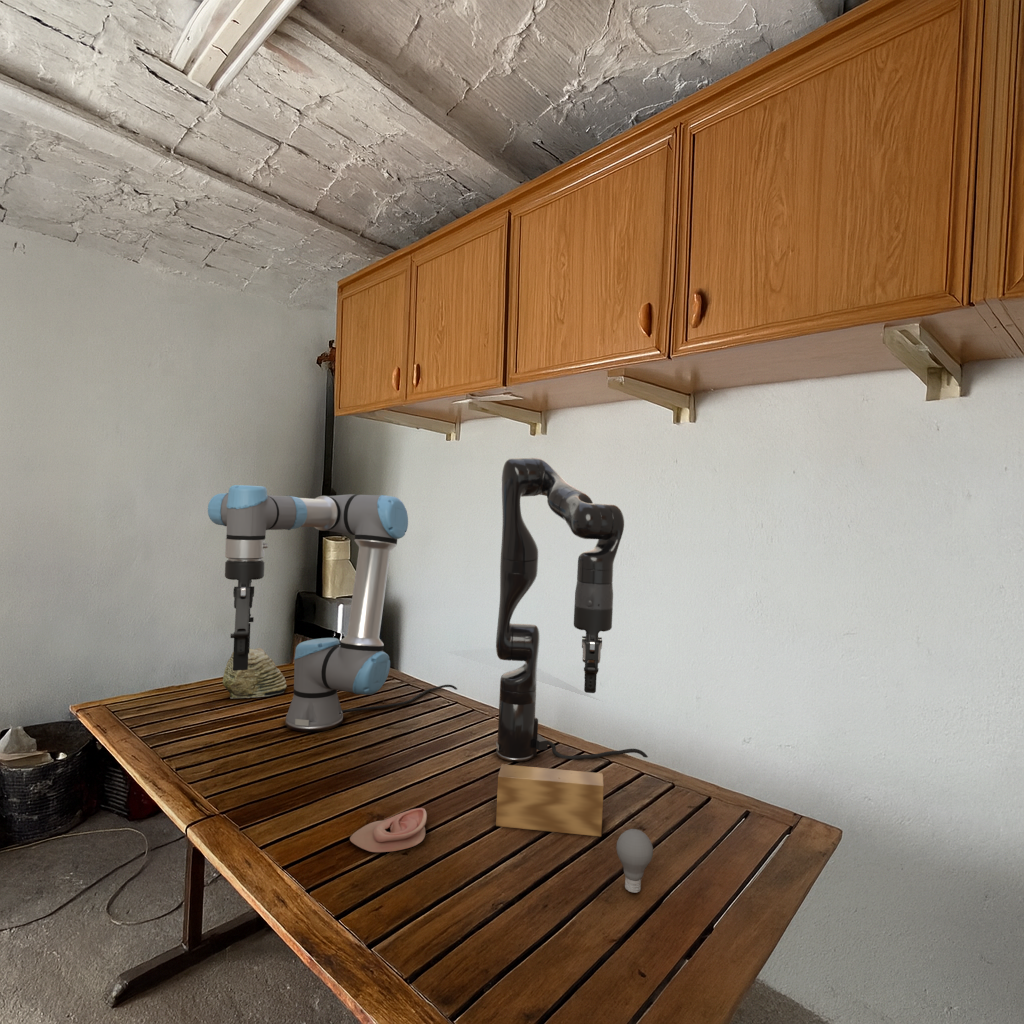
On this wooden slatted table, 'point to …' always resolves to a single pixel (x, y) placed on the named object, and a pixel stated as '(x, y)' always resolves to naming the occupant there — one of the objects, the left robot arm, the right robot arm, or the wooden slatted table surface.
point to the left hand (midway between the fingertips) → (241, 661)
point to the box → (550, 800)
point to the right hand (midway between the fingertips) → (589, 686)
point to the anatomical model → (392, 832)
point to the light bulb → (634, 857)
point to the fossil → (254, 677)
